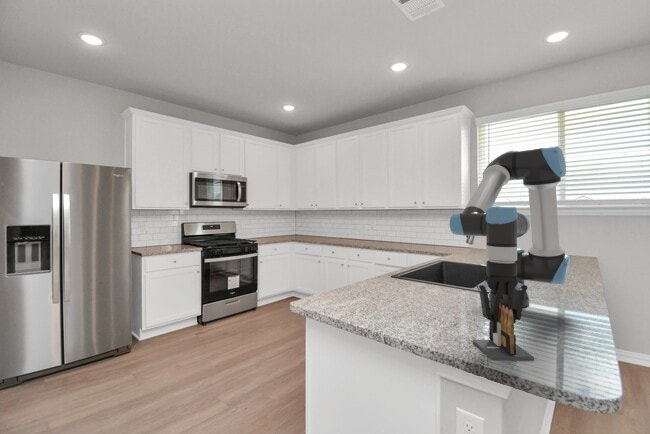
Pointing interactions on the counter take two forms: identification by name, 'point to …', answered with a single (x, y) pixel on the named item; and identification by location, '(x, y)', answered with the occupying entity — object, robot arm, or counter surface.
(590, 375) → the counter surface
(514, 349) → the ammunition clip
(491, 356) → the mat
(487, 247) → the robot arm
